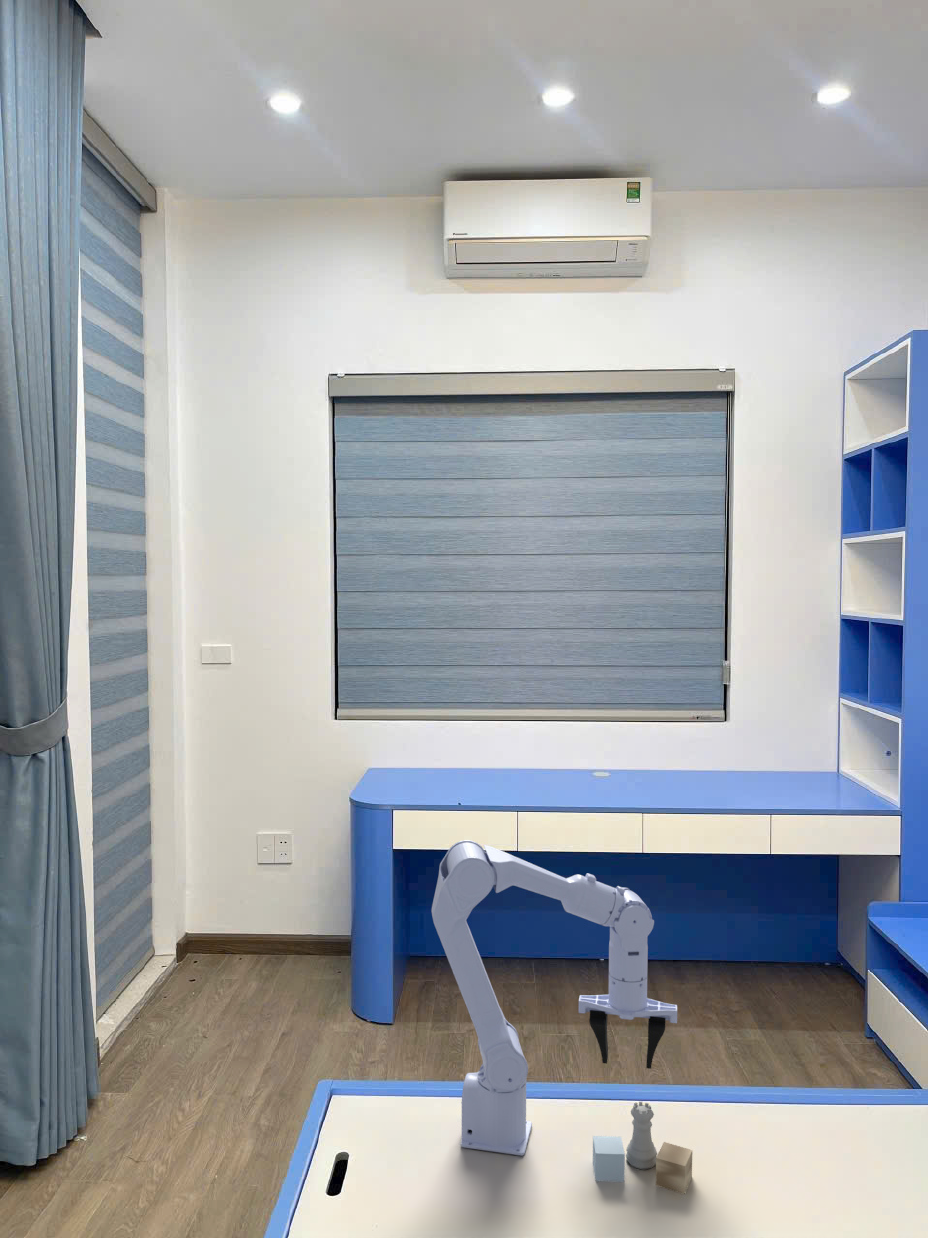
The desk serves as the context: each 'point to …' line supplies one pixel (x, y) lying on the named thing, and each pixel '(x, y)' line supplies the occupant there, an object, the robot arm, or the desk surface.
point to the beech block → (674, 1167)
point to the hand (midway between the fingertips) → (626, 1062)
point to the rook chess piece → (641, 1138)
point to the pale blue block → (608, 1158)
